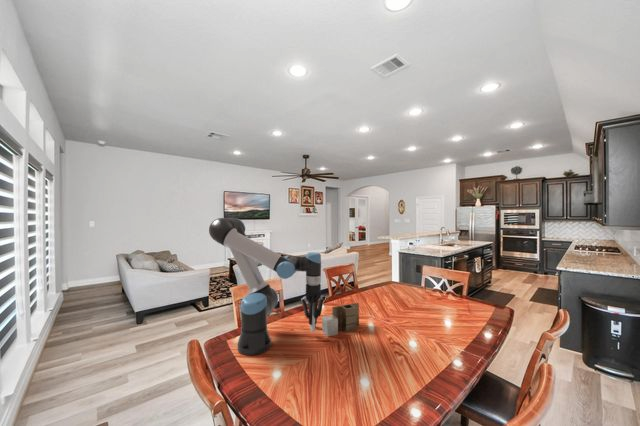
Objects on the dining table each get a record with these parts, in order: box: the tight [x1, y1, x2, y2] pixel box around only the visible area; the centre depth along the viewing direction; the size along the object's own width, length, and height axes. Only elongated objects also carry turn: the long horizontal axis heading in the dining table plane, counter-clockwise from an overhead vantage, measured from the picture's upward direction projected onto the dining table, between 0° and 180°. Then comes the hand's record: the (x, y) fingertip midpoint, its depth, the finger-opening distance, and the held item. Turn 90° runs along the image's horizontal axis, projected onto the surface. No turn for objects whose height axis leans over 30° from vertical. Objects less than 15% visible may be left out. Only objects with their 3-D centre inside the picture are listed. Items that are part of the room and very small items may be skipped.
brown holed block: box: [340, 302, 360, 333], centre depth 143 cm, size 11×6×12 cm, turn 114°
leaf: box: [321, 305, 356, 338], centre depth 139 cm, size 17×6×12 cm, turn 114°
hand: (312, 330), depth 133 cm, fingers closed
